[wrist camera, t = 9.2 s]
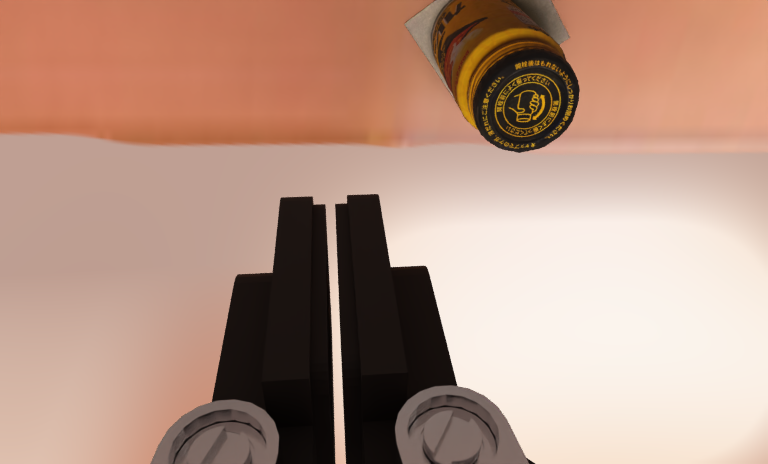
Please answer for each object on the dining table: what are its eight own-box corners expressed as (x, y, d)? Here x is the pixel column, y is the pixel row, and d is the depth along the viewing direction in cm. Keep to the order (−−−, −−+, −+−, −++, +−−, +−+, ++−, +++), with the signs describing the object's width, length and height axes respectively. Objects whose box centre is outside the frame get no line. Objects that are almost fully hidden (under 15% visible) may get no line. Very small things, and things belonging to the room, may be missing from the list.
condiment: (403, 23, 36) (434, 93, 27) (519, -63, 34) (599, -21, 24) (460, 108, 40) (505, 197, 30) (568, 35, 38) (654, 106, 28)
